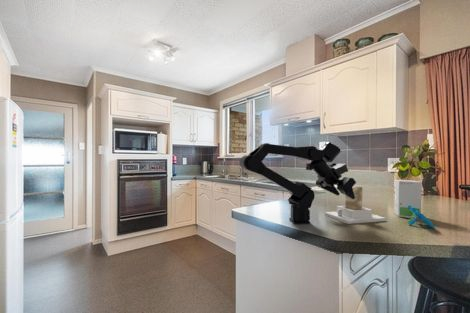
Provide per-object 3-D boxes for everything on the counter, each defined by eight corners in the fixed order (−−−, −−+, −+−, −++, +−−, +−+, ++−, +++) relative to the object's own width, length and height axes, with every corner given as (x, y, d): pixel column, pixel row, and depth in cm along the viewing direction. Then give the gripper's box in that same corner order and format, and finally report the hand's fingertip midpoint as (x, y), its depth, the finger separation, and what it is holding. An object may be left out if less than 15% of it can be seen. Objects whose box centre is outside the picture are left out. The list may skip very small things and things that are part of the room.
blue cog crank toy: (440, 227, 77) (414, 204, 82) (425, 238, 79) (400, 214, 83) (430, 223, 87) (407, 203, 91) (417, 233, 89) (394, 212, 93)
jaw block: (353, 216, 93) (353, 187, 93) (345, 213, 97) (345, 186, 97) (362, 215, 94) (362, 187, 94) (354, 213, 98) (354, 185, 99)
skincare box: (398, 217, 97) (398, 180, 97) (393, 213, 103) (393, 179, 103) (422, 219, 94) (422, 181, 94) (416, 215, 100) (416, 180, 100)
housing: (347, 223, 87) (347, 213, 87) (324, 214, 100) (324, 205, 100) (385, 221, 91) (385, 210, 91) (359, 212, 105) (359, 203, 105)
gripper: (352, 156, 85) (376, 185, 87) (321, 156, 103) (342, 180, 105) (333, 177, 83) (358, 206, 85) (306, 174, 101) (327, 198, 103)
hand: (346, 196), depth 95 cm, fingers open, 9 cm apart
